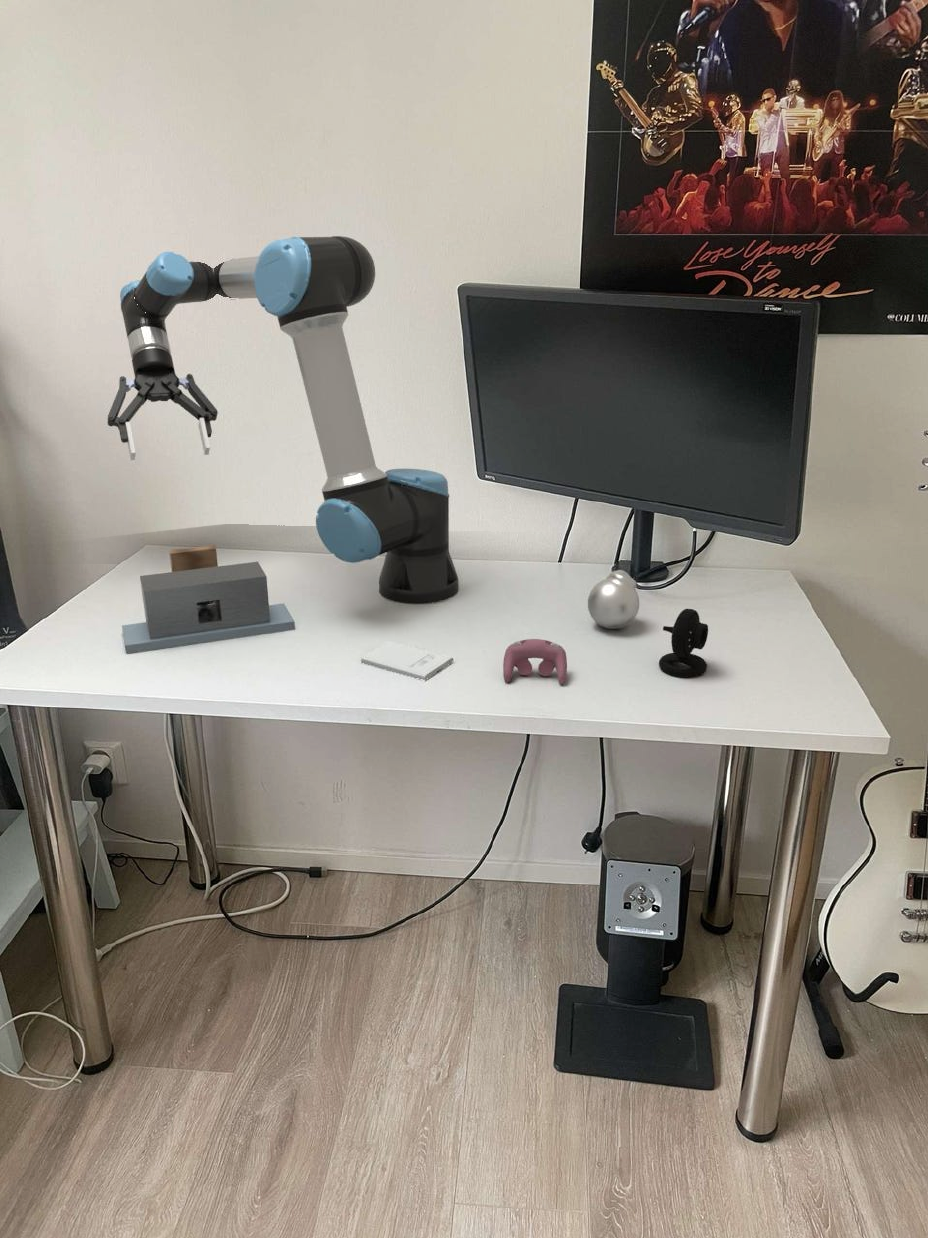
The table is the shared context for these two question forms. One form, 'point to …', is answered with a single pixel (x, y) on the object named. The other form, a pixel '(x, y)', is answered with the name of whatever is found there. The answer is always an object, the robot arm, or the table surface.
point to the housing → (205, 608)
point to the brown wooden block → (194, 560)
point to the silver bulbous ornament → (614, 601)
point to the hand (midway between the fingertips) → (170, 453)
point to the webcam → (686, 645)
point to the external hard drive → (406, 660)
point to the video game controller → (535, 649)
